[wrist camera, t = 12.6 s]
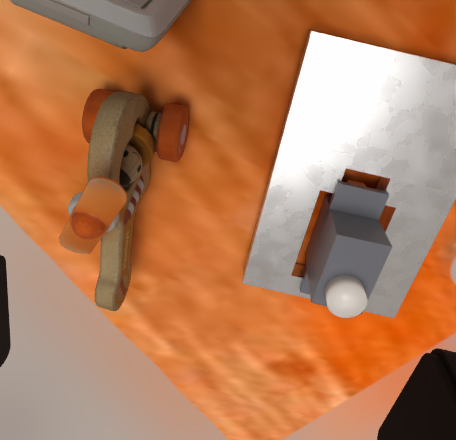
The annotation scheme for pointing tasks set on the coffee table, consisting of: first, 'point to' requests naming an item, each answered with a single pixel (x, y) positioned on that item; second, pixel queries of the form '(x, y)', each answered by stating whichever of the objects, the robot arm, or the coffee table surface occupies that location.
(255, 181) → the coffee table surface
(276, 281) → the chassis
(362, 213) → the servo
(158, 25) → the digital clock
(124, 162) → the toy helicopter
